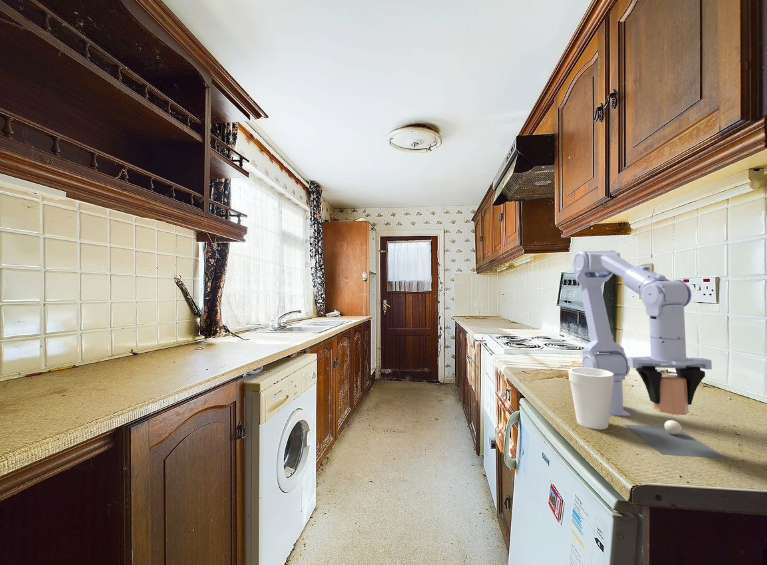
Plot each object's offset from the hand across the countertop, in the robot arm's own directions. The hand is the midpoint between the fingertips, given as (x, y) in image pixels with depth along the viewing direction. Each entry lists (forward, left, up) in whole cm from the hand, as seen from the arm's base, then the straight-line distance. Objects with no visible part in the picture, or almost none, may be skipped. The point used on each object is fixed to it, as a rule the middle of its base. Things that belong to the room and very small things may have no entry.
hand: (670, 402), depth 71 cm
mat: (-3, +1, -9) cm, 10 cm away
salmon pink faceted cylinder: (0, 0, -2) cm, 2 cm away
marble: (-6, +4, -9) cm, 11 cm away
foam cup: (-10, -11, -9) cm, 18 cm away
